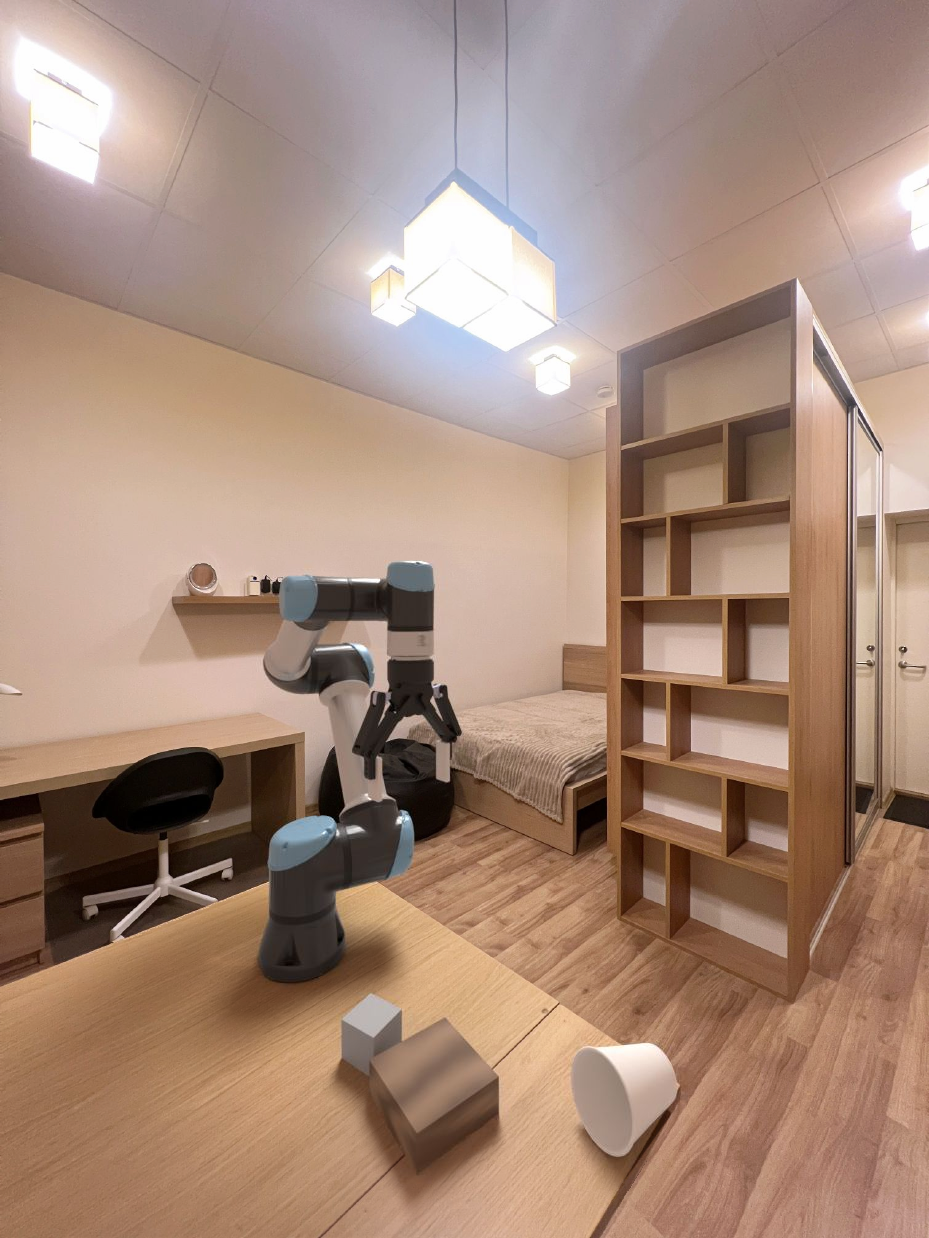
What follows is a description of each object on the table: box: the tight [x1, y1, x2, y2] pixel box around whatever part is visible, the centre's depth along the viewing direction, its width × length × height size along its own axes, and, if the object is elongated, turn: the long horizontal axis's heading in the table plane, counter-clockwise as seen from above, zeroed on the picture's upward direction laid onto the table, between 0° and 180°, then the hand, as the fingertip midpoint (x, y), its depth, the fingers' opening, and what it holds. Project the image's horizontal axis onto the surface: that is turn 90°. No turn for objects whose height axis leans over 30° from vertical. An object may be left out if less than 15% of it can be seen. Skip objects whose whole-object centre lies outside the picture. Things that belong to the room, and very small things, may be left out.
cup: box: [570, 1042, 678, 1158], centre depth 64 cm, size 10×10×11 cm
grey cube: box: [340, 992, 403, 1077], centre depth 73 cm, size 6×6×6 cm
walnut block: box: [368, 1017, 500, 1176], centre depth 66 cm, size 12×12×5 cm
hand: (410, 789), depth 83 cm, fingers open, 13 cm apart
